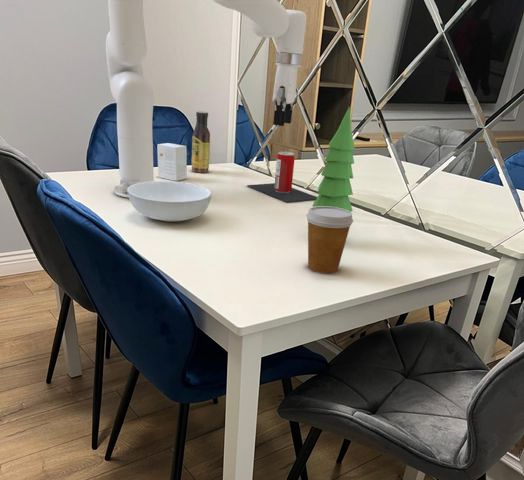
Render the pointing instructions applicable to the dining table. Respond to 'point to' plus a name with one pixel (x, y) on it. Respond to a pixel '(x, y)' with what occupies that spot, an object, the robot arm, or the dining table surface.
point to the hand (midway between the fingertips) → (282, 124)
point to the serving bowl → (169, 200)
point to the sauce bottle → (201, 144)
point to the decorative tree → (338, 169)
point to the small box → (172, 161)
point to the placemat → (286, 197)
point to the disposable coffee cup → (327, 237)
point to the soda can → (284, 172)
